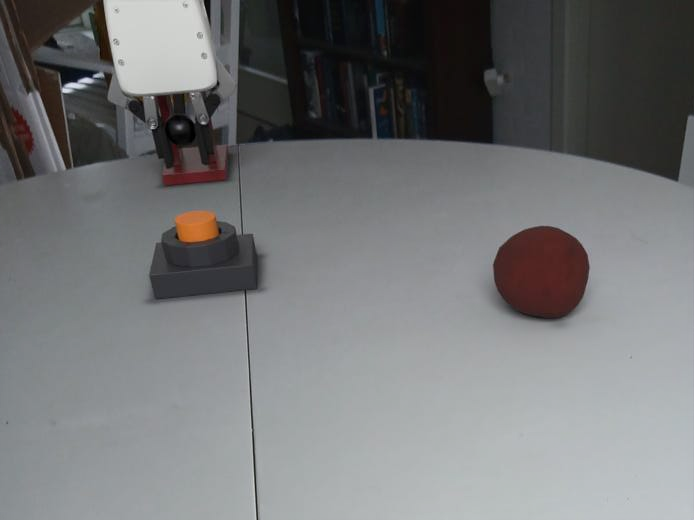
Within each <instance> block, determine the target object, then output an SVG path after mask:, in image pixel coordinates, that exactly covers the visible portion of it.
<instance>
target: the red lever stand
mask: <svg viewBox="0 0 694 520" xmlns="http://www.w3.org/2000/svg"><path fill="white" fill-rule="evenodd" d="M203 92H204V95H205V98H207V97H208V95H207V91H203ZM171 96H172V95H159V96H157V97H158V105H159V114H160V116H161V117H162V119H163V121H164V123H166V121H167V119H168V118H169V117H170V116H171V115H173V114H174V108H173V100H172V97H171ZM209 126H210V131H211V136H212V141H213V146H214V154H209V155H210V162H209V165H204V164H202V162H201V157H200V152H199V148H198V146H194V147H184V148H183V147H182V146H177V145H175V144H174V143H172V142H171V146H172V150H173V154H174V159H175V161H174V165H173V167H172V168H171V169H166V165H165V164H164V166H163V171H162V174H161V177H162V181H163V184H164V186H175V185H186V184H197V183H208V182H218V181H220V182H221V181H227V180H228V167H229V158H230V157H229V155H230V153H229V148H228V145H227V144H217V141H216V136H215V131H214V127H213V126H214V125H213V121H212V117H211V118H210V120H209Z"/></svg>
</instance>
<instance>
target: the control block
mask: <svg viewBox="0 0 694 520" xmlns="http://www.w3.org/2000/svg"><path fill="white" fill-rule="evenodd" d="M216 221H217V226H218V230H219V235H218V236H216V237H215V238H212V239H208V240H205V241H196V242H184V241H179V238H178V234H177V230H176V225H175V226H172V227H171V228H169V229H168V230H166V231H164V232H162V233H161V239H160V242H156V243H155V247H154V252H153V256H152V261H151V266H150V271H149V275H148V277H149V280H150V284H151V287H152V291H153V294H154V299H155V300H161V299H171V298H181V297H190V296H200V295H209V294H210V295H211V294H219V293H229V292H238V291H240V292H241V291H248V290H256V289H257V288H258V253H257V249H256V243H255V237H254V233H245V234H237V230H236V226H234V225H233V224H231V223H228V222H226V221H220V220H216Z"/></svg>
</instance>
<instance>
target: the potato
mask: <svg viewBox="0 0 694 520" xmlns="http://www.w3.org/2000/svg"><path fill="white" fill-rule="evenodd" d="M590 267H591V266H590V261H589V255H588V253H587V251H586V249H585V247H584V245H583V244H582V243H581V242H580V241H579V240H578V238H577V237H575V236H574V235H573V234H570V233H569V232H566V231H565V230H563V229H561V228H560V227H556V226H552V225H551V226H550V225H538V226H531V227H529V228H524V229H523V230H521V231H518V232H517V233H515V234H513V235H512V236H511V237H509V238H508V239H507V240H506V241H505V242H503V243H502V244H501V245H500V247H498V250H497V253H496V255H495V258H494V260H493V263H492V270H493V281H494V284H495V287H496V290H497V292H498V293H499V295H500V296H501V297H502V299H503V300H504V301H505V303H506V304H507V305H509V306H510V307H512V309H515V310H517V311H518V312H520V313H522V314H524V315H529V316H533V317H539V318H545V319H552V318H553V319H554V318H560V317H564V316H567V315H568V314H569V313H571V312H572V311H573V310H574V309H576V308H577V306H579V305H580V303H581V301H582V299H583V298H584V295H585V291H586V288H587V285H588V281H589V275H590V269H591V268H590Z"/></svg>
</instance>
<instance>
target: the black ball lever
mask: <svg viewBox="0 0 694 520" xmlns="http://www.w3.org/2000/svg"><path fill="white" fill-rule="evenodd" d="M172 105H173V110H174V114H173V115H171V116H170V117H169V118H168V119H167V121H166V124H165V131H166V134H167V137H168V138H169V140H170V141H171V142H172V143H174V144H175V145H177V146H182V148H183V147H184V148H185V147H188V146H191V144H193V143H194V141H195V140H196V134H195V129H194V126H195V121H193V119H192V118H191V117H190V116H189V115H187V113H186V98H185V93H183V94H172Z"/></svg>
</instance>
